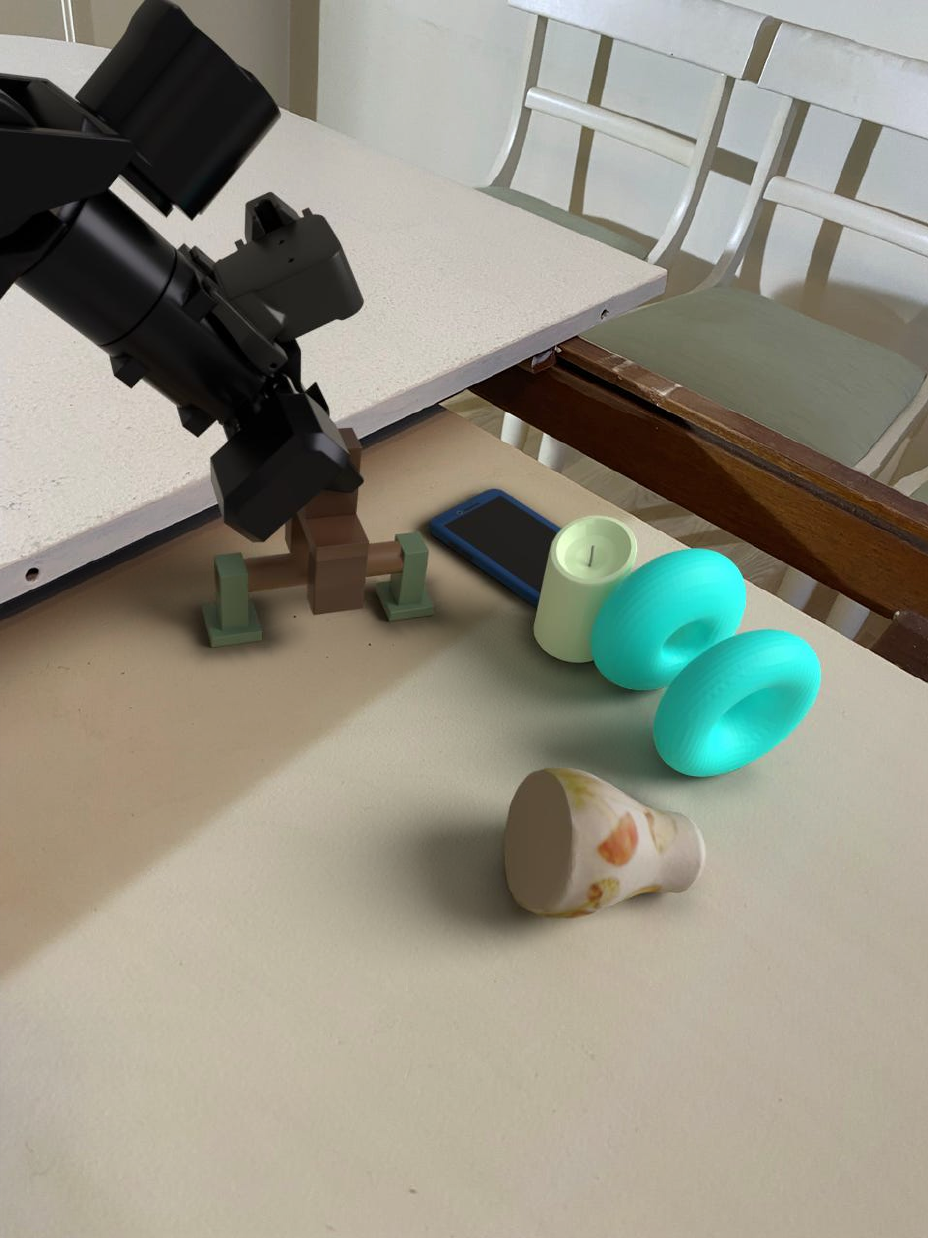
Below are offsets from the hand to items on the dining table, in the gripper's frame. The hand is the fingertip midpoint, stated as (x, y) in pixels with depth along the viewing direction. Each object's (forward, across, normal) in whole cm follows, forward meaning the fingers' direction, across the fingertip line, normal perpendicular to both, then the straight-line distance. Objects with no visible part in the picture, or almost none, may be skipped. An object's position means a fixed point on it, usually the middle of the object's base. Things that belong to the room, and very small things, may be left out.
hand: (351, 474), depth 58 cm
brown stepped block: (+4, 0, +6) cm, 7 cm away
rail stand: (+6, 0, +8) cm, 11 cm away
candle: (+17, -5, -2) cm, 18 cm away
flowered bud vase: (+13, -22, +2) cm, 25 cm away
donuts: (+20, -13, -5) cm, 24 cm away
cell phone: (+18, +2, -3) cm, 18 cm away
